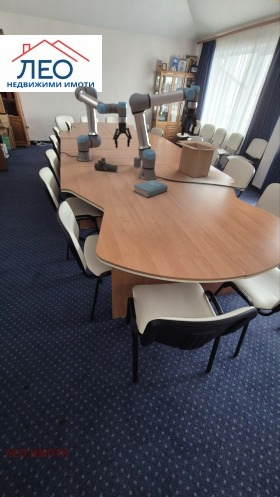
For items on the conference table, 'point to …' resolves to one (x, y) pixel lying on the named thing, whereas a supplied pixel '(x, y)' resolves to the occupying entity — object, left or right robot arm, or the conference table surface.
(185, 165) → the box
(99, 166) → the laser sight
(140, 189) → the book
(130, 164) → the conference table surface
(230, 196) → the conference table surface
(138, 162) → the brick
